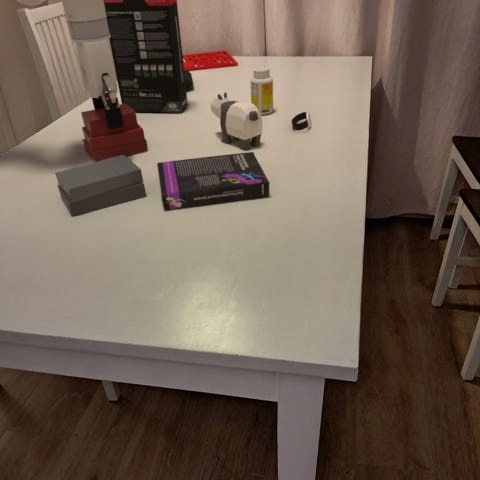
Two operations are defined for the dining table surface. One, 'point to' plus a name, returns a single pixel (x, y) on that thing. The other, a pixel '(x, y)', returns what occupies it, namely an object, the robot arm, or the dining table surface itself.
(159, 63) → the graphics card box
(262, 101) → the supplement bottle
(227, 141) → the giant panda
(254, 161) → the box
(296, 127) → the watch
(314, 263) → the dining table surface
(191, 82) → the carrying case
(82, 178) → the grey book pile
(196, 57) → the maze puzzle
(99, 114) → the dark red rectangular block
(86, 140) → the burgundy book pile
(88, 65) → the robot arm
